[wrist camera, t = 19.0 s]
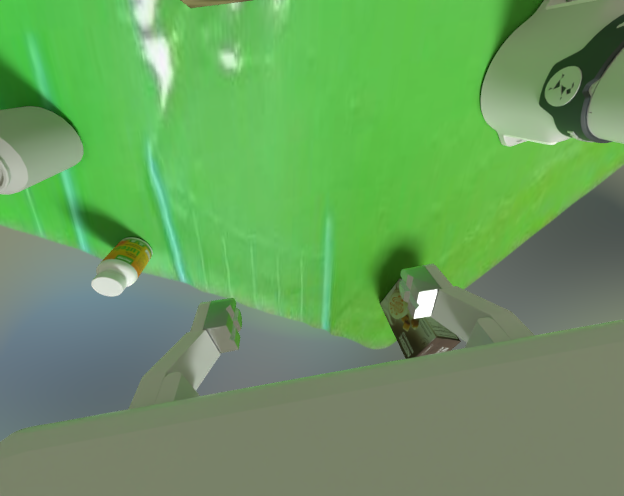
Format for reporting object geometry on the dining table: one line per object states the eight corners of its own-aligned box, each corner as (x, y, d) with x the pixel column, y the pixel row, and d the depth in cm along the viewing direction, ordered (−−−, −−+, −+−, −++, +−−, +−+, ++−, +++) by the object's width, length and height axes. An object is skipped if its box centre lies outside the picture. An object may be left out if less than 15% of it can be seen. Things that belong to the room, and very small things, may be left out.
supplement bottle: (151, 238, 43) (124, 275, 36) (155, 262, 46) (130, 300, 39) (116, 234, 42) (80, 271, 34) (122, 259, 45) (90, 298, 37)
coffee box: (399, 307, 64) (431, 368, 51) (379, 303, 62) (406, 365, 49) (420, 282, 59) (462, 342, 46) (399, 277, 57) (435, 337, 44)
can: (28, 157, 34) (-70, 192, 24) (7, 96, 30) (-119, 109, 20) (92, 170, 36) (25, 207, 26) (81, 115, 32) (-3, 134, 22)
